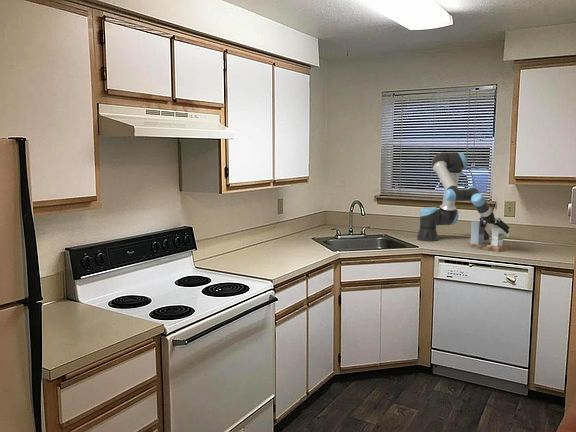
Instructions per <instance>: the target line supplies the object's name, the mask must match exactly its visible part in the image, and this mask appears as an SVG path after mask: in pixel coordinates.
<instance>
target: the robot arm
mask: <svg viewBox="0 0 576 432" xmlns="http://www.w3.org/2000/svg"><path fill="white" fill-rule="evenodd" d="M466 167H467V158H466V155H465V153H464V152H458V151H454V152H453V151H447V152H445V151H443V152H438V153H437V154H435V155H434V156H433V158H432V160H431V168H432V170H433V172H435V173H436V175H437V176H438V179H439V181H440V182H441V184H442V187H443V196H442V197H443V198H442V204H440V205H439V208H437V207H435V206H432V207H431V206H429V207H424V208H421V210H420V214H419V230H418V233H417V235H416V240H419V241H424V242H436V241H439V235H438V231H437V226H452V225H455V224H457V222H458V219H459V211H458V209H457V207H456V206H455V204H456V202H471V204H472V205H473V206H474V208H475V209H476V211H477V212H478V214H479V215H480V217H479V218H478V219H479V221H480V227H483V228H484V229H485V230H486V231H487V233H488V234H489V235H491V228H490V227H489V226H488V225H487V224H490V225H496V226H498V227H500V228H501V229H503V231H504V236H506V238H509V237H510V235H511V233H510V231H509V230H510V226H509V225H508V224H507V223H505V221H503V220H502V219H501V217H498V218H496V217H495V213H494V212H493V210H492V208H491V206H490V205H489V204H488V202H487V200H486V198H485V196H484V195H483V194H482V193H480V191H479V190H478V189H477V188H476V187H475V186H474V185H473V186H472V185H471V186H469V187H467V188H465V189H464V188H459V187H458V186H459V177H460V174H461V173H463V170H465V169H466ZM483 222H485V224H483Z"/></svg>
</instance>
